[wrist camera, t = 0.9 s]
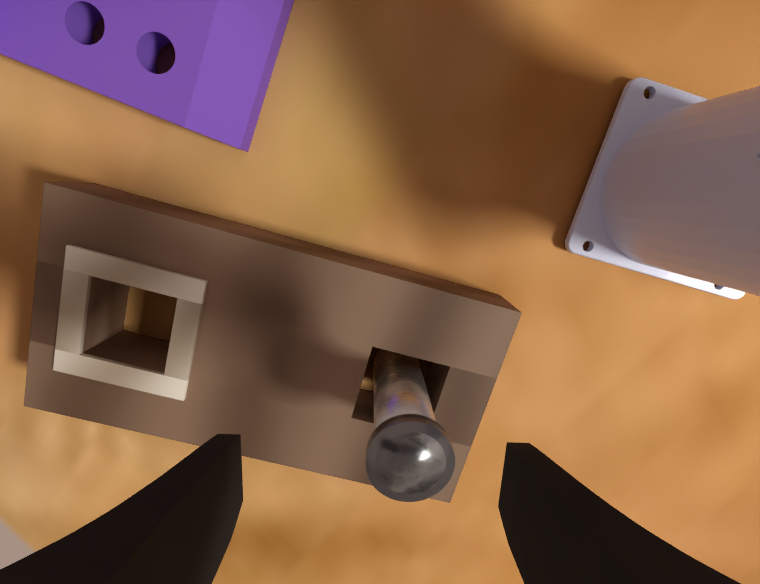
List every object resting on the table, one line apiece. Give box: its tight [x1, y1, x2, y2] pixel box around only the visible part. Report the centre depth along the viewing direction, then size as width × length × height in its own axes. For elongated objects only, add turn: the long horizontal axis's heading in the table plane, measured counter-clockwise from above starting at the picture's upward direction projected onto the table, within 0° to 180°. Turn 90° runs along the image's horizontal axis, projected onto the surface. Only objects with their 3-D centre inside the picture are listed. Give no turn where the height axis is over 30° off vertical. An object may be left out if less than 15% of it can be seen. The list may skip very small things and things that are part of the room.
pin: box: [366, 349, 455, 502], centre depth 18 cm, size 3×3×8 cm
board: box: [24, 182, 521, 503], centre depth 19 cm, size 20×10×3 cm, turn 74°
